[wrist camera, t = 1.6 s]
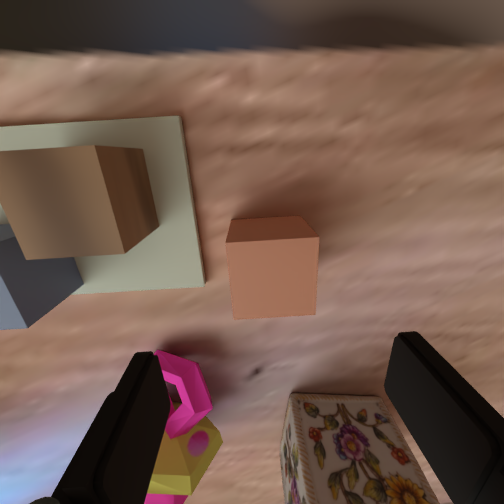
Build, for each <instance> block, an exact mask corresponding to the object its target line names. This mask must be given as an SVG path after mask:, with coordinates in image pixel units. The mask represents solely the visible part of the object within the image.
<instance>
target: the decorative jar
mask: <svg viewBox="0 0 504 504" xmlns="http://www.w3.org/2000/svg"><path fill="white" fill-rule="evenodd" d="M280 464H281V473H282V483H283V491H284V501H285V504H440V503H439V502H438V499H437V497H436V495H435V494H434V492H433V490H432V489H431V487H430V485H429V483H428V481H427V479H426V477H425V475H424V473H423V471H422V470H421V468H420V466H419V464H418V462H417V460H416V459H415V457H414V455H413V453H412V451H411V449H410V448H409V446H408V444H407V442H406V441H405V439H404V437H403V435H402V433H401V432H400V430H399V428H398V426H397V425H396V423H395V421H394V419H393V418H392V416H391V414H390V413H389V411H388V409H387V407H386V405H385V404H384V402H383V400H382V399H381V398H380V397H377V396H352V395H328V394H306V393H291V394H290V397H289V401H288V407H287V411H286V416H285V422H284V428H283V434H282V440H281V445H280Z"/></svg>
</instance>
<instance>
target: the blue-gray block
mask: <svg viewBox="0 0 504 504" xmlns="http://www.w3.org/2000/svg"><path fill="white" fill-rule="evenodd" d="M82 285H84V283H83V280H82V278H81V275H80V272H79V270H78V267H77V264H76V261H75V259H74V257H66V258H49V259H33V260H26V258H25V256H24V254H23V252H22V249H21V247H20V245H19V243H18V241H17V238H16V236H15V234H14V232H13V230H12V228H11V225H10V224H0V330H6V329H23V328H29V327H30V326H31V325H32V324H34V323H35V322H36V321H38V320H39V319H40V318H41V317H43V316H44V315H45V314H47V313H48V312H49V311H50V310H52V309H53V308H54V307H56V306H57V305H58V304H59V303H61V302H62V301H63V300H65V299H66V298H67V297H68V296H70V295H71V294H72V293H73V292H75V291H76V290H77V289H79V288H80V287H81V286H82Z"/></svg>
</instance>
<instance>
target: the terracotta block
mask: <svg viewBox="0 0 504 504" xmlns="http://www.w3.org/2000/svg"><path fill="white" fill-rule="evenodd" d="M226 252H227V262H228V271H229V280H230V290H231V299H232V308H233V317H234V320H237V319H254V318H270V317H287V316H303V315H315V313H316V293H317V274H318V254H319V236H318V235H317V234H316V233H315V232H314V231H313V229H312V228H311V227H310V226H309V225H308V224H307V223H306V222H305V220H304V219H303V218H302V217H301V216H285V217H269V218H252V219H236V220H231V223H230V227H229V231H228V235H227V239H226Z"/></svg>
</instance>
